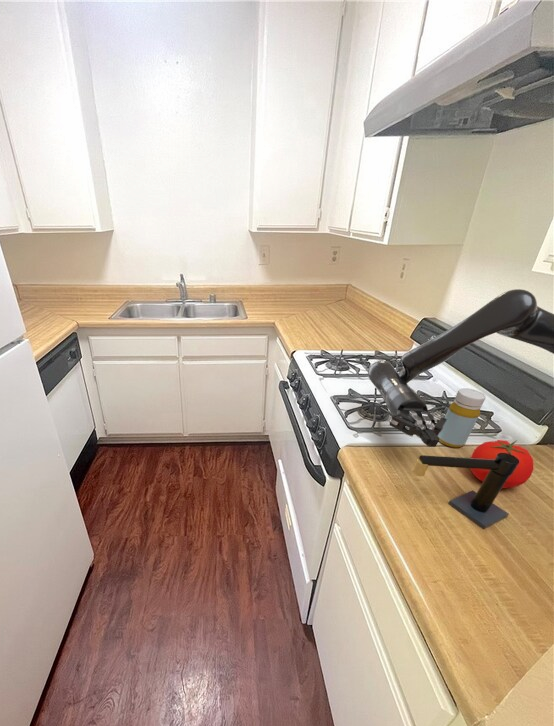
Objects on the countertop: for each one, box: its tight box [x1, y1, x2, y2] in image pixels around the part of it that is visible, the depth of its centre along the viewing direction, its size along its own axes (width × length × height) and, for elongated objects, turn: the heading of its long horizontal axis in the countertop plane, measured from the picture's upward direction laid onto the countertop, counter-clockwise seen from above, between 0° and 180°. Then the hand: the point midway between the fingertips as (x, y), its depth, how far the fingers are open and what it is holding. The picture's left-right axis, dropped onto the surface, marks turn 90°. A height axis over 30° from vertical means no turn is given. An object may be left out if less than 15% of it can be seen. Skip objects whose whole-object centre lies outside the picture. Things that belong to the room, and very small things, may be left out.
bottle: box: [438, 387, 487, 449], centre depth 93 cm, size 7×7×15 cm
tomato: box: [470, 439, 534, 489], centre depth 80 cm, size 12×12×10 cm
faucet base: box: [448, 470, 510, 530], centre depth 72 cm, size 8×8×11 cm
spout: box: [412, 453, 519, 477], centre depth 68 cm, size 18×4×5 cm, turn 86°
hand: (433, 443), depth 73 cm, fingers closed
